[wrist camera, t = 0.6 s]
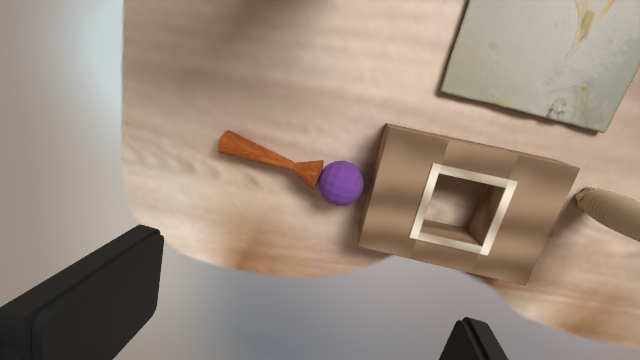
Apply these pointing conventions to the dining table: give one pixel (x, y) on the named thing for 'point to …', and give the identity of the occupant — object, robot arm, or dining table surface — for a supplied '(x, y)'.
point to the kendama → (302, 169)
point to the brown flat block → (491, 212)
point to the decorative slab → (548, 57)
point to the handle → (611, 210)
